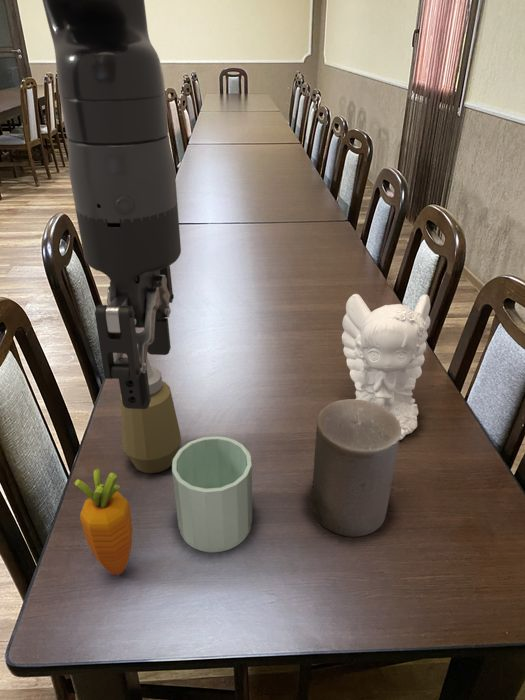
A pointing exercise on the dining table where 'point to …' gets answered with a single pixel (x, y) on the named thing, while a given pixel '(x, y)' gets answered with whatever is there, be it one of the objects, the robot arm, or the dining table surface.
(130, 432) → the squeeze bottle
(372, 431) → the pillar candle
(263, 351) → the dining table surface
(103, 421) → the dining table surface
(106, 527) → the carrot
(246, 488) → the tumbler
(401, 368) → the cherub figurine
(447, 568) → the dining table surface
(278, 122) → the dining table surface
